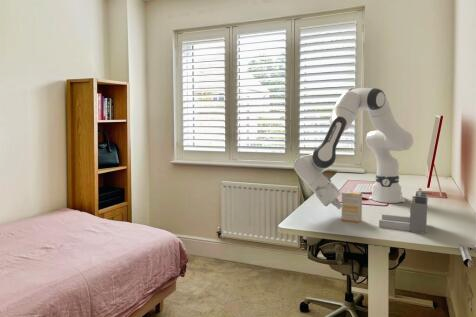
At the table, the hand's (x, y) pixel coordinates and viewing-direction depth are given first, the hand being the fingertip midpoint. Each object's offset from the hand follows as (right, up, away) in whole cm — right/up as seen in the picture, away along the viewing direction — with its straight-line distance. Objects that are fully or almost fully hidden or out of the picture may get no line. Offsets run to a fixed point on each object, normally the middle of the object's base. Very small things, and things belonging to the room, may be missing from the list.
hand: (340, 207), depth 172 cm
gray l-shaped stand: (+23, -6, -12) cm, 27 cm away
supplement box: (+4, -6, -2) cm, 7 cm away
